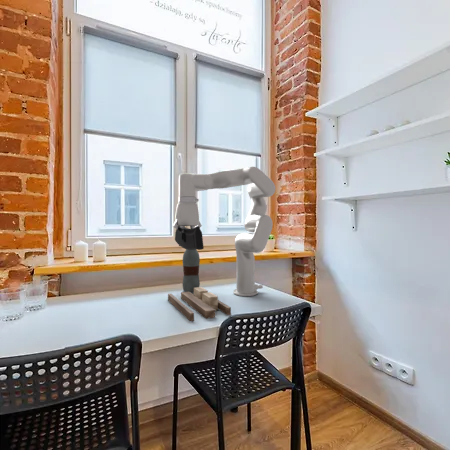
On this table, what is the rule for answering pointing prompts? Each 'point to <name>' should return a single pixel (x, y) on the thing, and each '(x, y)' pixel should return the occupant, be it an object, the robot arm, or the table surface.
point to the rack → (196, 306)
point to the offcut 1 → (199, 292)
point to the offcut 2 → (210, 300)
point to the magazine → (190, 238)
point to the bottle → (191, 270)
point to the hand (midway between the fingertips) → (187, 241)
